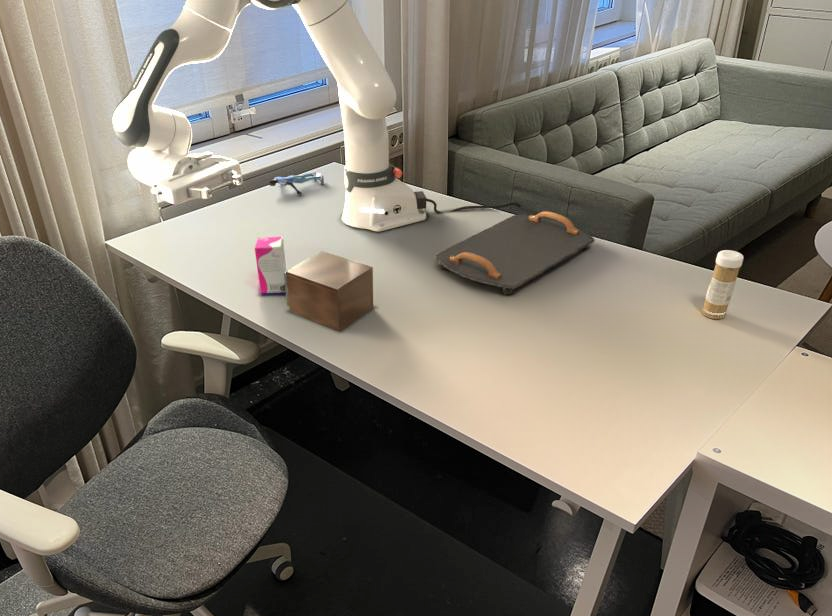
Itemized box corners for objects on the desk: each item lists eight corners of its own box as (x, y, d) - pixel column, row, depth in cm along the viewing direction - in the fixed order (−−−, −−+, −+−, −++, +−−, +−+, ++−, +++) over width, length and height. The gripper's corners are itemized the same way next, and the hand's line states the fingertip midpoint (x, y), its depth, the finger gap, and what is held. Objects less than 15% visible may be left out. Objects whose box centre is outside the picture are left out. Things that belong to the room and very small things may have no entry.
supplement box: (288, 282, 161) (283, 235, 155) (286, 294, 156) (281, 247, 150) (262, 282, 161) (257, 236, 155) (260, 295, 156) (254, 248, 150)
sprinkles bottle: (712, 306, 146) (729, 247, 138) (730, 316, 142) (749, 256, 135) (695, 312, 144) (712, 252, 137) (714, 322, 141) (732, 261, 133)
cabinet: (289, 311, 150) (285, 271, 145) (324, 289, 157) (321, 250, 152) (339, 331, 143) (337, 289, 138) (373, 307, 150) (372, 266, 145)
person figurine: (311, 182, 217) (259, 188, 207) (311, 168, 215) (259, 173, 205) (331, 192, 210) (278, 199, 200) (332, 177, 207) (279, 183, 198)
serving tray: (522, 220, 185) (524, 197, 181) (602, 245, 171) (606, 221, 167) (423, 270, 164) (424, 246, 160) (505, 304, 149) (508, 278, 146)
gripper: (143, 176, 152) (186, 188, 145) (213, 149, 165) (255, 159, 158) (149, 204, 156) (191, 217, 148) (217, 175, 169) (259, 186, 161)
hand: (225, 187), depth 153 cm, fingers open, 8 cm apart
